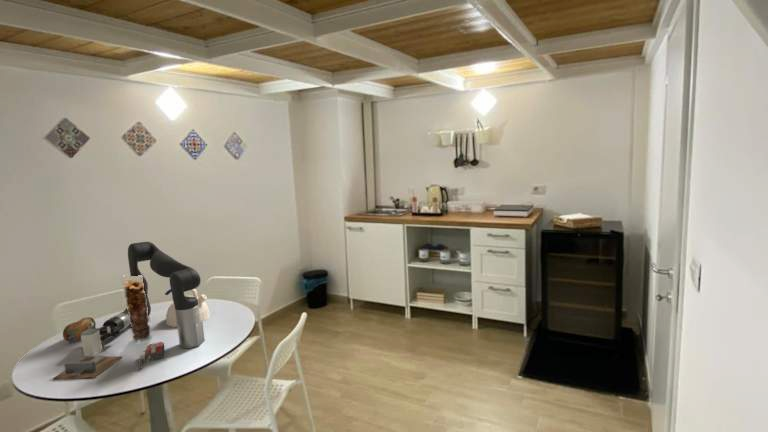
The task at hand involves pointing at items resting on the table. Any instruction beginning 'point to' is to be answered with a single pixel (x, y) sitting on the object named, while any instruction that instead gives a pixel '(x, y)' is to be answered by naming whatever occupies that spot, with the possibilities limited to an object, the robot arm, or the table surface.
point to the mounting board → (99, 369)
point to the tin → (77, 329)
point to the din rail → (96, 359)
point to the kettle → (202, 305)
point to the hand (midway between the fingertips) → (91, 339)
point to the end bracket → (80, 367)
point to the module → (91, 342)
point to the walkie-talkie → (152, 353)
